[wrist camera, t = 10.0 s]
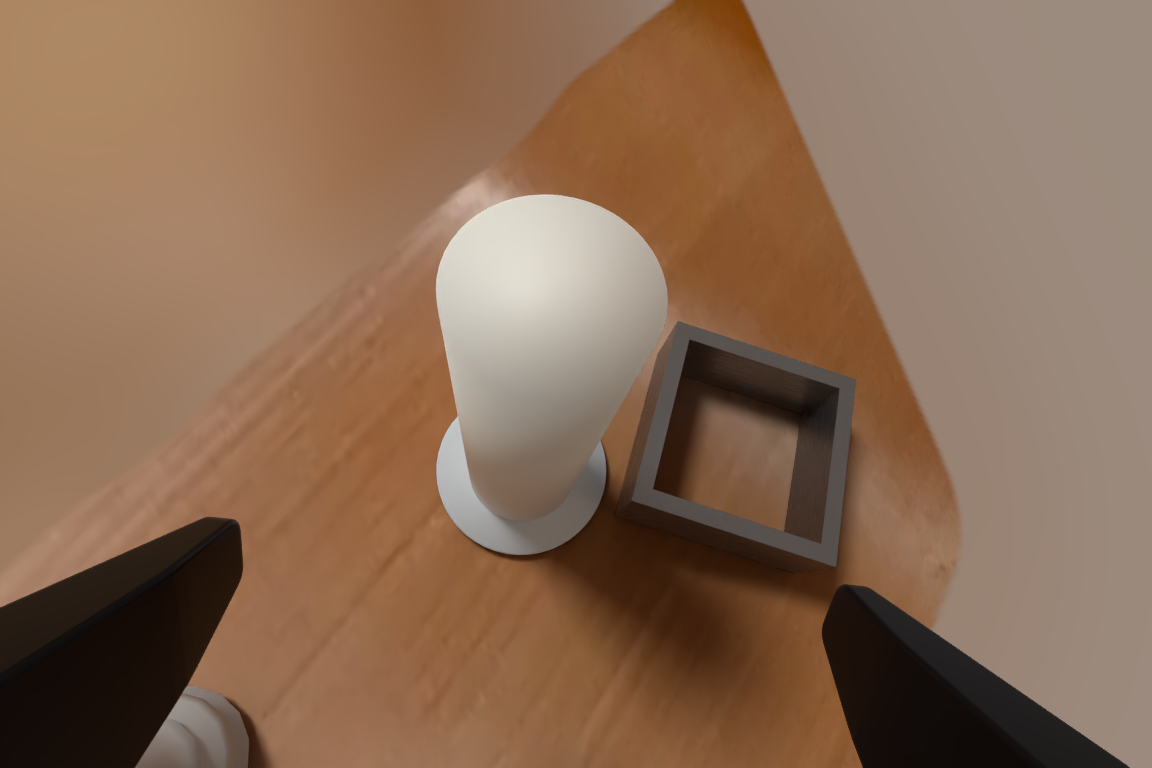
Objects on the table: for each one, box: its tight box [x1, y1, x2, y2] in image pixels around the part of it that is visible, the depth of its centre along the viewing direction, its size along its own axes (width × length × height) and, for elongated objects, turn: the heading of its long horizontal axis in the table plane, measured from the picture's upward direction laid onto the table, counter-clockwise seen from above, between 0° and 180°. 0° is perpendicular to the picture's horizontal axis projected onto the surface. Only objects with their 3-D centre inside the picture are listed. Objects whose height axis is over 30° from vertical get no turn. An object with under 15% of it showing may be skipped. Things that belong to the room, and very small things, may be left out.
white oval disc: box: [436, 417, 606, 555], centre depth 22 cm, size 6×6×1 cm
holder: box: [615, 321, 856, 573], centre depth 22 cm, size 7×7×3 cm
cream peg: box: [436, 195, 668, 521], centre depth 16 cm, size 4×4×13 cm
